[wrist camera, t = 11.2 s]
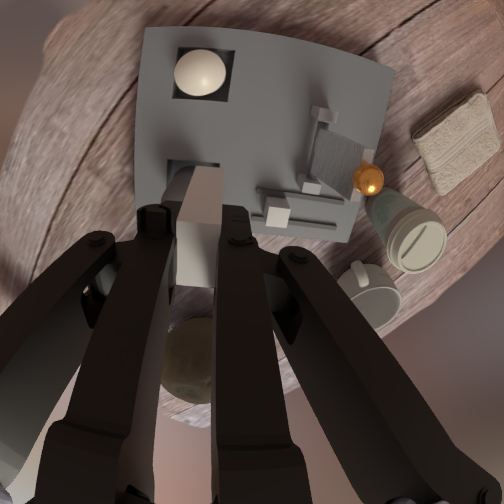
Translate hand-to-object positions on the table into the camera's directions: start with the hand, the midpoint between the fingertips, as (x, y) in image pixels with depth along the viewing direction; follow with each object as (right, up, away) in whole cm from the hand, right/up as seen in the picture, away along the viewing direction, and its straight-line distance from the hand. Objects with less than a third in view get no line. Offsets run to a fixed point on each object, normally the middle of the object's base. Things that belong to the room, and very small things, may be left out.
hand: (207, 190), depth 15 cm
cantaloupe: (-7, -17, +36) cm, 40 cm away
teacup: (+20, -7, +31) cm, 37 cm away
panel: (+3, +11, +17) cm, 21 cm away
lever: (+9, +7, +13) cm, 18 cm away
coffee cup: (+22, +4, +24) cm, 32 cm away
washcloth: (+35, +15, +18) cm, 42 cm away
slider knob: (+5, +2, +19) cm, 19 cm away
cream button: (-3, +16, +12) cm, 20 cm away
